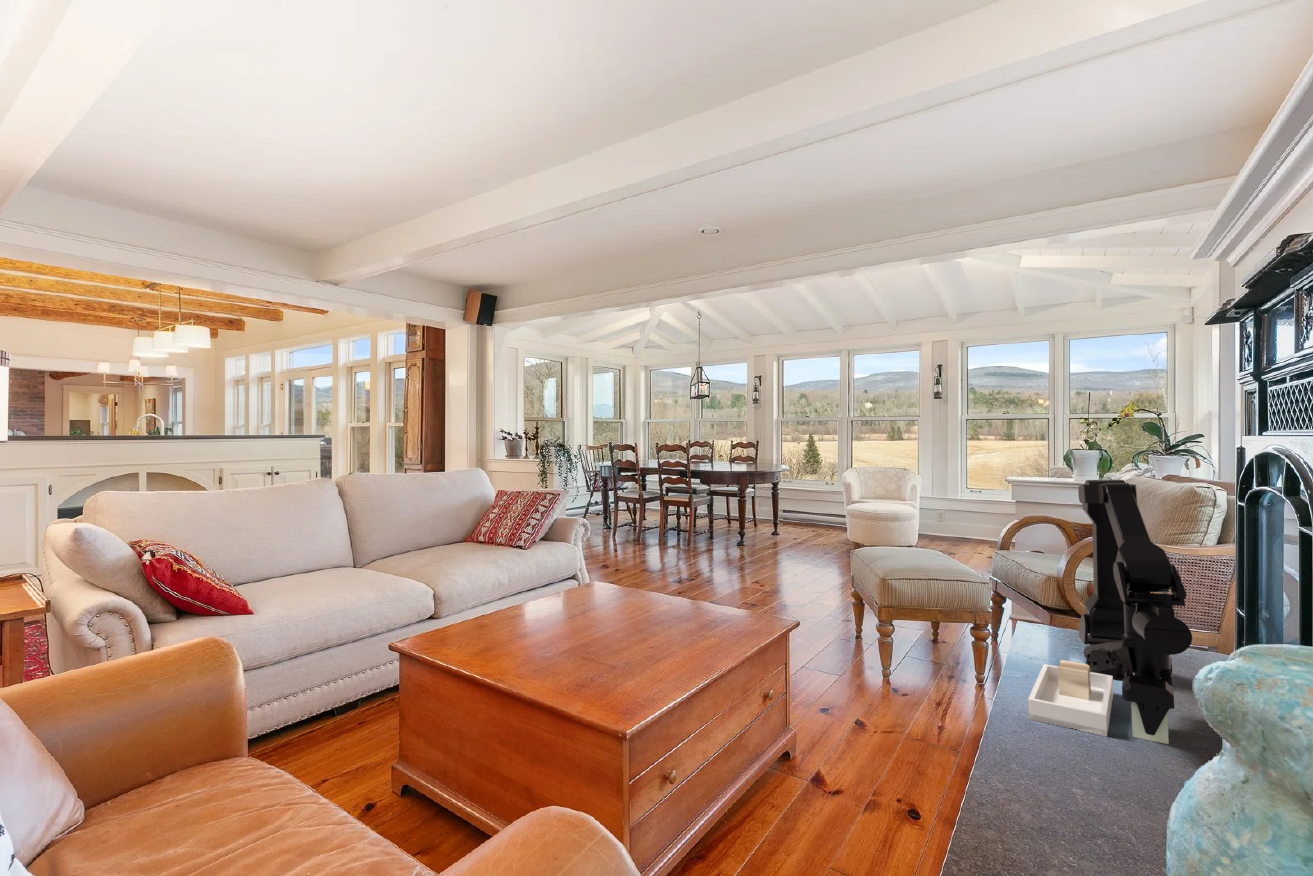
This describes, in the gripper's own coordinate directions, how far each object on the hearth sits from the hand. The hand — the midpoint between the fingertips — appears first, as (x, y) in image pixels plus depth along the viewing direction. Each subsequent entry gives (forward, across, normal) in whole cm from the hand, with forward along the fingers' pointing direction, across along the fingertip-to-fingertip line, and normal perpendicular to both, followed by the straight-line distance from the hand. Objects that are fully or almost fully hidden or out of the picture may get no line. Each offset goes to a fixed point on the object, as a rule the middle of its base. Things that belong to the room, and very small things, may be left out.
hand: (1150, 728), depth 100 cm
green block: (+1, 0, 0) cm, 1 cm away
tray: (+1, -5, -11) cm, 12 cm away
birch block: (0, -9, -11) cm, 14 cm away
